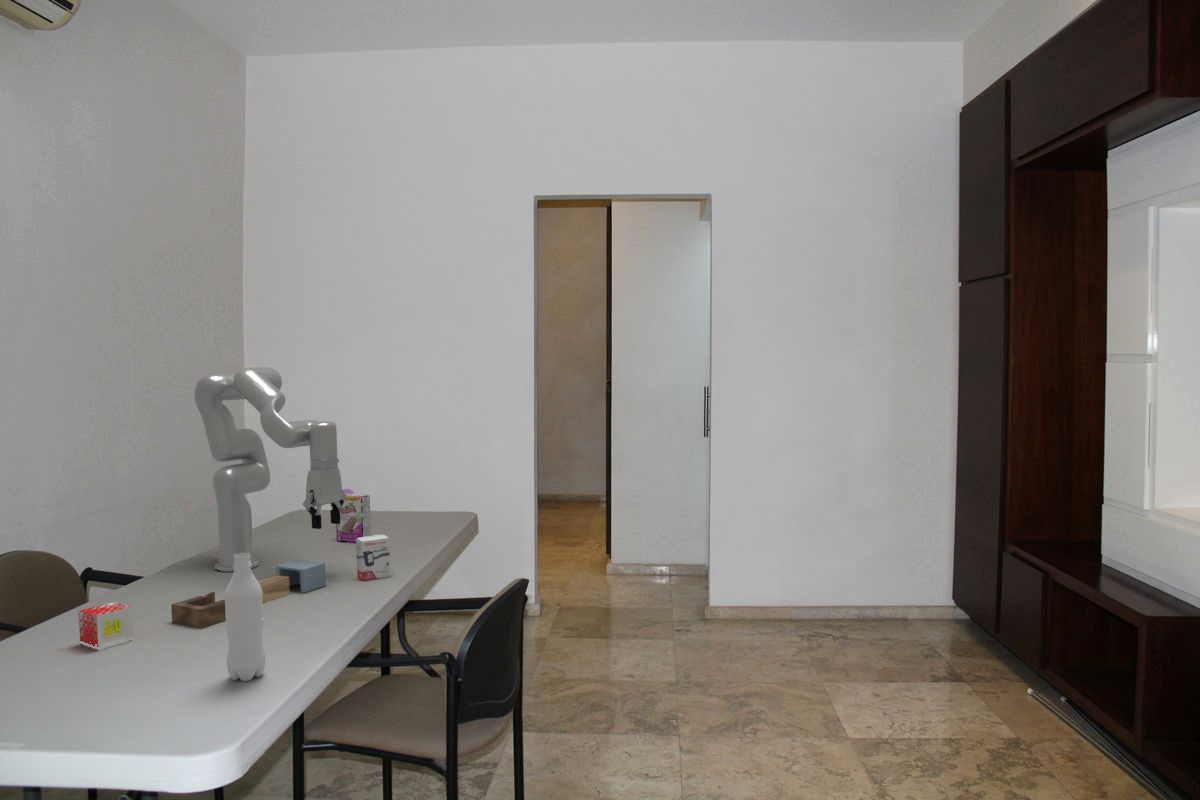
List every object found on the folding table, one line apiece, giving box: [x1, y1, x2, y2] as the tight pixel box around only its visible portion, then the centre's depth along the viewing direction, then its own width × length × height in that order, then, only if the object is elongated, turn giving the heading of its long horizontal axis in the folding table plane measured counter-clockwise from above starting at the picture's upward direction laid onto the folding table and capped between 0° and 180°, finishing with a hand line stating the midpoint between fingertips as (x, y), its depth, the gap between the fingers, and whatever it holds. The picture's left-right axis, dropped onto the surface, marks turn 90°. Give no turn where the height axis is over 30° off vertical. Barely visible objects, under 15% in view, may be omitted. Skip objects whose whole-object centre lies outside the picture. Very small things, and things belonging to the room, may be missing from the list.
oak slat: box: [258, 575, 291, 604], centre depth 225 cm, size 4×16×5 cm, turn 154°
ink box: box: [355, 534, 391, 582], centre depth 247 cm, size 8×5×12 cm, turn 123°
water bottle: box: [223, 553, 266, 682], centre depth 171 cm, size 7×7×25 cm
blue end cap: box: [275, 559, 327, 593], centre depth 237 cm, size 10×8×6 cm
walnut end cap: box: [170, 591, 226, 629], centre depth 211 cm, size 12×12×4 cm
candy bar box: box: [335, 493, 372, 543], centre depth 296 cm, size 11×5×16 cm, turn 71°
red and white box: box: [77, 601, 135, 647], centre depth 194 cm, size 8×8×8 cm
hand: (326, 525), depth 246 cm, fingers open, 6 cm apart
